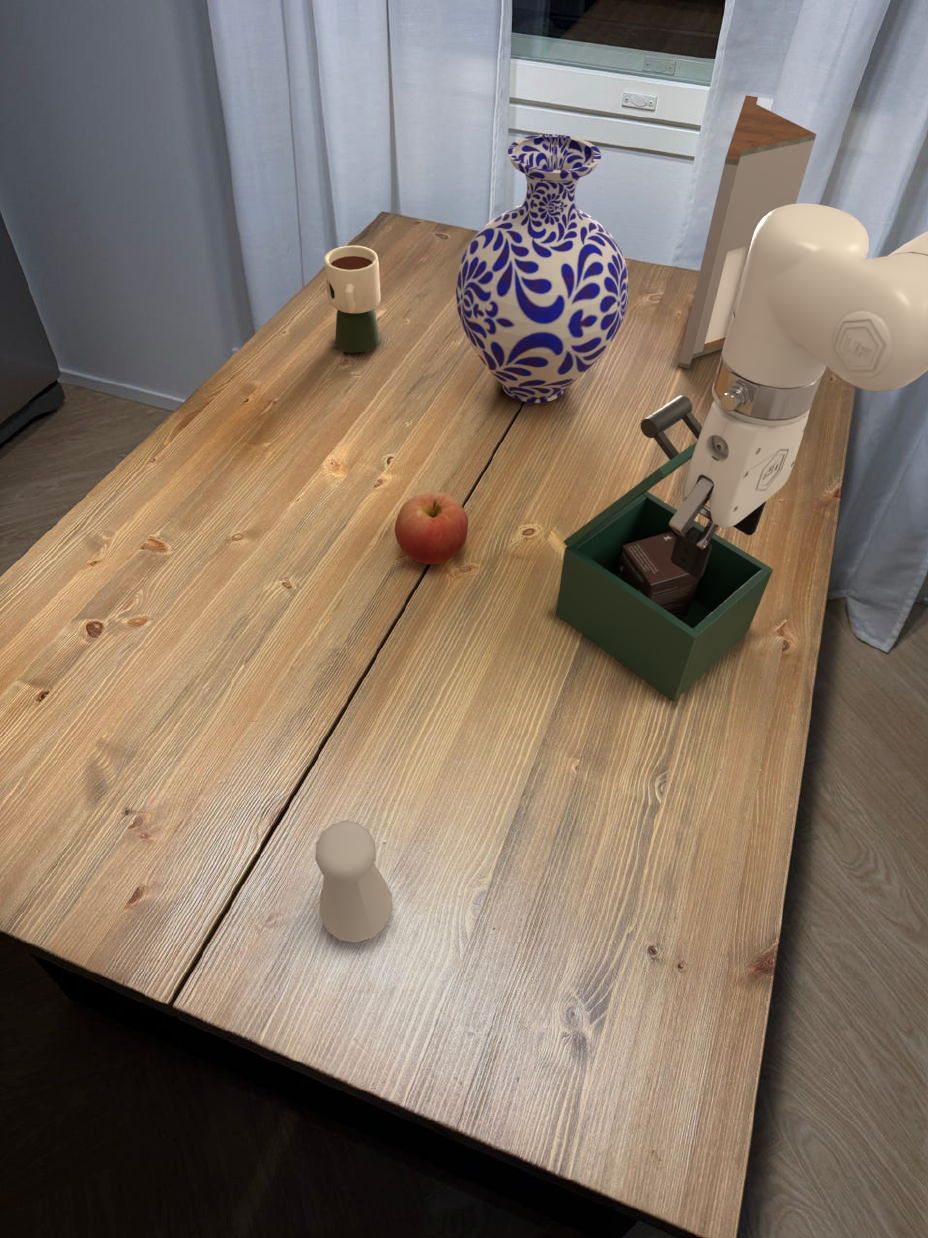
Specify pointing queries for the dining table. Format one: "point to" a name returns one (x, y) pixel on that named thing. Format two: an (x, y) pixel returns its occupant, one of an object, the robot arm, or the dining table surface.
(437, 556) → the apple
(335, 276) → the character mug
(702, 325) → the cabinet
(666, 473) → the lid
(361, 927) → the salt shaker
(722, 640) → the chest
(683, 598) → the box
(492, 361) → the vase
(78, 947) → the dining table surface
